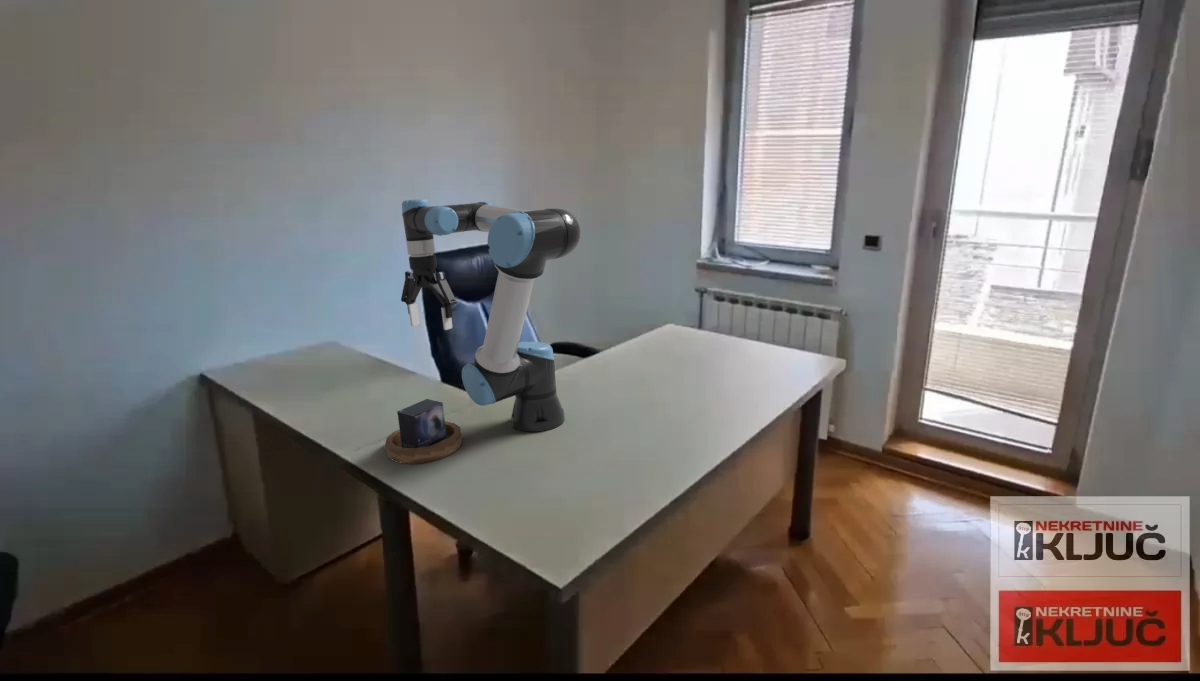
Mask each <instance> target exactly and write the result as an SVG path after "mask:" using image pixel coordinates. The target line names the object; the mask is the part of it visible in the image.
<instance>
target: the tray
mask: <svg viewBox="0 0 1200 681" xmlns="http://www.w3.org/2000/svg"><path fill="white" fill-rule="evenodd" d="M445 427H446V435H447V438H446V439H444V440H442V441H440V442H438V443H436V444H434V445H432V446H428V447H421V448H402V443H401V436H400V428H399V429H396V430H395V431H393V432H392V433H390V435H388V436H387V437H386V439H385V442H384V444H385V449H386V453H387V457H388V456H389V457H390V458H391V459H393V460H395V461H397V462H401V463H400V464H402V463H408V464H407V465H418V464H419V465H420V464H427V463H431V462H436V461H438V460H439V461H440V460H441V459H445V458H447V457H450V456H451V455H453V454H455V453H456V452H457V451H459V449H460V448H461V447H462V444H463V440H462V430H461V426H459V425H458V424H456V423H455V422H450V421H446V420H445ZM389 457H388V458H389ZM390 458H389V459H390ZM391 459H390V460H391ZM397 462H396V463H397Z"/></svg>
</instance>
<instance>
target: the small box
mask: <svg viewBox="0 0 1200 681" xmlns="http://www.w3.org/2000/svg"><path fill="white" fill-rule="evenodd" d="M396 413H397V417H398V418H397V419H398V426H399V427H398V428H399V429H400V436H401V443H402V448H421V447H428V446H432V445H434V444H436V443H438V442H440V441H442V440H444V439H446V438H447V435H446V427H445V421H446V420H445V412H444V403H443V402H442V401H439V400H438V401H437V400H433V399H429V398H426V399H423V400H421V401H418V402H416V403H414V404H412V405H410V406H407V407H404V408H403V409H400V410H397V412H396Z"/></svg>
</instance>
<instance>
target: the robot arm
mask: <svg viewBox="0 0 1200 681" xmlns="http://www.w3.org/2000/svg"><path fill="white" fill-rule="evenodd" d="M401 210H402V213H401V216H402V220H403V227H404V234H405V240H406V248H407V249H406V250H407V254H408V256H409V257H408V263H409V269H410V270H406V271H405V272H404V284H403V289H402V292H401V298H400V301H401V302H402V303H403V302H404V303H405V304H406V306H407V307H406V308H407V313H408V315H409V321H410V326H411V327H416V326H419V325H421V323H420V316H419V309H418V308H419V307H418V303H417V302H416V299H417V297H418V295H419V293H420V291H421V290H422V288H426V289H429V290H431V291H432V293H433V295H435V297H436V298H437V299H438V301H439V302H440V304H441V305H442V306H441V308H440V309H441V316H442V318H441V319H442V325H443V330H444V331H448V330H450V329H453V320H452V318H453V310H452V306H454V305H456V304H457V300H456V298H455V296H454V293H453V291H452V289H451V287H450V285H449V282H448V281H447V279H446V272H445V271H439V272H437V271H436V268H437V267H438V262H437V256H436V254H434V253H435V252H436V248H435V240H434V235H436V236H441V237H442V236H448V235H452V234H454V233H455V234H456V233H462V232H469V231H470V232H472V231H478V232H484V233H488V234H487V246H488V247H489V249H488V250H487V251H488V253H489V257H490V258H491V260H492V261H493V264H494V265H493V266H494V267H495V268H496V269H497V271H498V274H497V278H496V279H497V280H496V282H495V288H494V294H493V296H492V302H491V307H490V312H489V316H488V320H487V321H488V322H487V327H486V331H485V336H484V341H483V344H482V345H480V346H479V347H478V348H477V349H476V351H475V354H474V358H473V361H472V362H471V363H470V362H469V363H467V364H466V365H464V366H463V367H462V370H461V379H462V384H463V387H464V389H465V391H466V394H467V395H468V397H469V398H470V399H471V401H473V402H474V403H475V404H476V405H478V406H488V405H491V404H492V405H493V404H495V403H498V402H501V401H504V400H506V399H510V398H512V397H514V402H513V403H514V404H513V408H512V412H511V418H510V420H511V426H512V427H513V428H514V429H515V430H518V431H523V432H530V433H531V432H543V431H548V430H552V429H554V428H557V427H559V426H561V425H562V424H564V422H565V420H566V419H565V410H564V408H563V406H562V404H561V401H560V399H559V397H558V393H557V385H556V384H557V383H556V380H557V379H556V370H555V369H556V368H555V360H556V359H555V357H554V351H553V347H552V346H551V345H550V344H548V343H546V342H539V341H520V340H521V335H522V332H523V327H524V323H525V319H526V315H527V312H528V307H529V304H530V300H531V295H532V292H533V288H534V284H535V280H537V279H539V278H541V277H542V276H543V274H544V270H545V267H546V263H547V261H550V260H551V261H552V260H556V259H560V258H564V257H566V256H568V255H570V254H571V253H572V252H573V251H574V250H575V249H576V247H577V246H578V244H579V242H580V238H581V228H580V224H579V221H578V219H577V218H576V217H575V216H574V215H573V214H572V213H571V212H570V211H568V210H565V209H563V208H543V209H537V210H529V209H525V208H523V209H522V208H515V207H509V206H500V205H494V204H493V203H492V202H487V201H486V202H485V201H478V202H474V203H463V204H462V203H459V204H450V205H449V204H448V205H436V206H435V205H434V206H433V205H432V206H430V201H429V200H428V199H427V198H419V199H418V198H417V199H416V198H415V199H406V200H403V201H402V202H401Z"/></svg>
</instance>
